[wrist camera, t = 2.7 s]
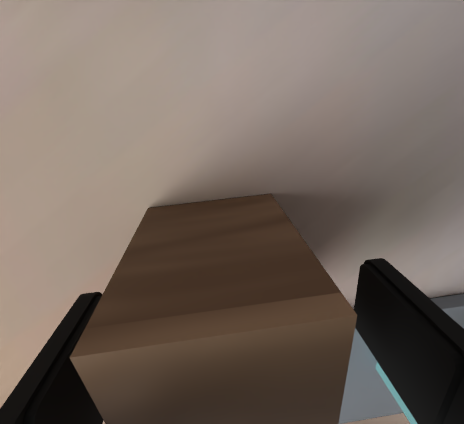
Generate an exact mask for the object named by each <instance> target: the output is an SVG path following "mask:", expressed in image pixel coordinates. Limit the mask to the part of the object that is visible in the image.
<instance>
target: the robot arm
mask: <svg viewBox="0 0 464 424" xmlns="http://www.w3.org/2000/svg"><path fill="white" fill-rule="evenodd" d="M101 297H102V294H101V293H100V292H94V293H86V294H81V295H80V296H79V297H78V299H77V300H76V301H75V303H74V304H73V306H72V307H71V309H70V310H69V311H68V313H67V314H66V316H65V317H64V319H63V320H62V321H61V323H60V324H59V326H58V327H57V329H56V330H55V331H54V333H53V334H52V336H51V337H50V339H49V340H48V341H47V343H46V344H45V346H44V347H43V349H42V350H41V352H40V353H39V354H38V356H37V357H36V359H35V360H34V362H33V363H32V364H31V366H30V367H29V369H28V370H27V372H26V373H25V374H24V376H23V377H22V379H21V380H20V382H19V383H18V384H17V386H16V387H15V389H14V390H13V392H12V393H11V394H10V396H9V397H8V399H7V400H6V402H5V403H4V404H3V406H2V407H1V409H0V424H102V423H103V418H102V416H101V414H100V413H99V411H98V409H97V407H96V405H95V403H94V402H93V400H92V398H91V396H90V394H89V392H88V391H87V389H86V387H85V385H84V383H83V381H82V380H81V378H80V376H79V374H78V372H77V370H76V369H75V367H74V365H73V363H72V361H71V359H70V356H71V354H72V352H73V350H74V348H75V346H76V345H77V343H78V341H79V339H80V337H81V335H82V333H83V331H84V329H85V327H86V325H87V324H88V322H89V320H90V318H91V316H92V314H93V312H94V310H95V308H96V306H97V305H98V303H99V301H100V299H101ZM354 311H355V313H356V314H357V320H356V326H355V328H356V330H357V331H358V333H359V334H360V336H361V337H362V339H363V341H364V342H365V344H366V345H367V347H368V348H369V350H370V351H371V353H372V354H373V356H374V357H375V359H376V361H377V362H378V364H379V365H380V367H381V368H382V370H383V371H384V373H385V374H386V376H387V377H388V379H389V381H390V382H391V384H392V385H393V387H394V388H395V390H396V391H397V393H398V394H399V396H400V397H401V399H402V401H403V402H404V404H405V405H406V407H407V408H408V410H409V411H410V413H411V414H412V416H413V417H414V419H415V421H416V422H417V424H464V328H462V327H461V326H460V325H459V324H458V323H457V322H456V321H454V320H453V319H452V318H451V317H450V316H449V315H448V314H446V313H445V312H444V311H443V310H442V309H441V308H440V307H439V306H437V305H436V304H435V303H434V302H433V301H432V300H431V299H429V298H428V297H427V296H426V295H425V294H424V293H423V292H421V291H420V290H419V289H418V288H417V287H416V286H415V285H414V284H412V283H411V282H410V281H409V280H408V279H407V278H406V277H404V276H403V275H402V274H401V273H400V272H399V271H398V270H396V269H395V268H394V267H393V266H392V265H391V264H390V263H389V262H387V261H386V260H385V259H383V258H379V259H371V260H366V261H365V262H364V264H363V265H361V266H360V271H359V278H358V285H357V292H356V299H355V306H354Z"/></svg>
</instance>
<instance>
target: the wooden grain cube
mask: <svg viewBox="0 0 464 424" xmlns="http://www.w3.org/2000/svg"><path fill="white" fill-rule="evenodd" d="M356 320H357V314H356V313H355V311H354V310H353V308H352V307H351V306H350V304H349V303H348V301H347V300H346V299H345V297H344V296H343V294H342V293H341V292H340V290H339V289H338V287H337V286H336V285H335V283H334V282H333V280H332V279H331V278H330V276H329V275H328V273H327V272H326V270H325V269H324V268H323V266H322V265H321V263H320V262H319V261H318V259H317V258H316V256H315V255H314V254H313V252H312V251H311V249H310V248H309V247H308V245H307V244H306V242H305V241H304V240H303V238H302V237H301V235H300V234H299V233H298V231H297V230H296V228H295V227H294V226H293V224H292V223H291V221H290V220H289V218H288V217H287V216H286V214H285V213H284V211H283V210H282V209H281V207H280V206H279V204H278V203H277V202H276V200H275V199H274V197H273V196H272V195H271V194H264V195H256V196H247V197H239V198H230V199H222V200H213V201H204V202H196V203H187V204H179V205H170V206H162V207H153V208H148V209H147V211H146V213H145V215H144V217H143V219H142V221H141V223H140V225H139V226H138V228H137V230H136V232H135V234H134V236H133V238H132V240H131V242H130V244H129V245H128V247H127V249H126V251H125V253H124V255H123V257H122V259H121V261H120V263H119V265H118V266H117V268H116V270H115V272H114V274H113V276H112V278H111V280H110V282H109V284H108V285H107V287H106V289H105V291H104V293H103V295H102V297H101V299H100V301H99V303H98V305H97V306H96V308H95V310H94V312H93V314H92V316H91V318H90V320H89V322H88V324H87V325H86V327H85V329H84V331H83V333H82V335H81V337H80V339H79V341H78V343H77V345H76V346H75V348H74V350H73V352H72V354H71V356H70V359H71V361H72V363H73V365H74V367H75V369H76V370H77V372H78V374H79V376H80V378H81V380H82V381H83V383H84V385H85V387H86V389H87V391H88V392H89V394H90V396H91V398H92V400H93V402H94V403H95V405H96V407H97V409H98V411H99V413H100V414H101V416H102V418H103V420H104V422H105V424H338V423H339V418H340V412H341V406H342V400H343V395H344V389H345V383H346V377H347V372H348V366H349V360H350V354H351V349H352V343H353V337H354V331H355V326H356Z"/></svg>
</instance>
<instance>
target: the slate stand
mask: <svg viewBox="0 0 464 424" xmlns="http://www.w3.org/2000/svg"><path fill="white" fill-rule="evenodd" d="M431 300H432V301H433V302H434V303H435V304H436V305H437V306H439V307H440V308H441V309H442V310H443V311H444V312H445V313H446V314H448V315H449V316H450V317H451V318H452V319H453V320H454V321H456V322H457V323H458V324H459V325H460V326H461V327H462V328H464V294H459V295H452V296H445V297H438V298H432V299H431ZM376 364H377V361H376V359H375V357H374V356H373V354H372V353H371V351H370V350H369V348H368V347H367V345H366V344H365V342H364V341H363V339H362V337H361V336H360V334H359V333H358V331H357V330H356V328H355V331H354V337H353V343H352V349H351V354H350V360H349V366H348V372H347V377H346V383H345V389H344V395H343V400H342V406H341V412H340V418H339V423H338V424H342V423H347V422H353V421H359V420H365V419H370V418H376V417H382V416H388V415H394V414H399V413H404V412H403V411H402V409H401V408H400V406H399V405H398V403H397V401H396V400H395V398H394V397H393V395H392V394H391V392H390V390H389V389H388V387H387V386H386V384H385V383H384V381H383V379H382V378H381V376H380V375H379V373H378V372H377V370H376Z"/></svg>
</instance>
